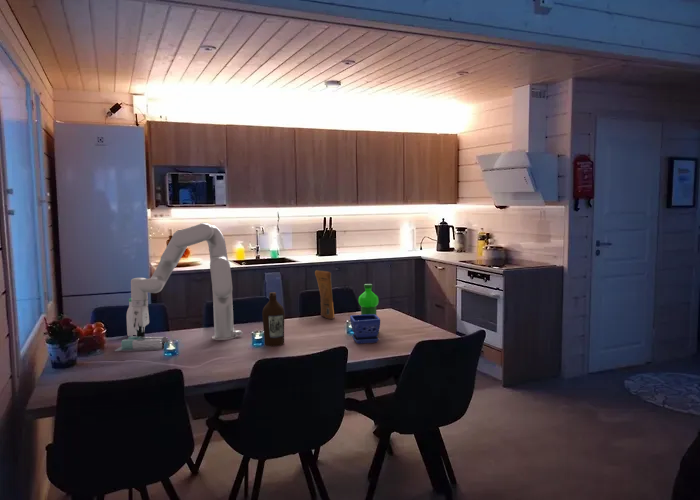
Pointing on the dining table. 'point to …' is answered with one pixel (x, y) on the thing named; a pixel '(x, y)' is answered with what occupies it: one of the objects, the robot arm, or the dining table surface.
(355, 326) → the flower pot
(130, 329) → the milk bottle
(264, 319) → the olive oil
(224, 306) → the robot arm
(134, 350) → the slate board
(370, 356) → the dining table surface
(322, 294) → the pancake mix bag
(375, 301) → the plastic bottle
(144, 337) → the toothpaste tube
